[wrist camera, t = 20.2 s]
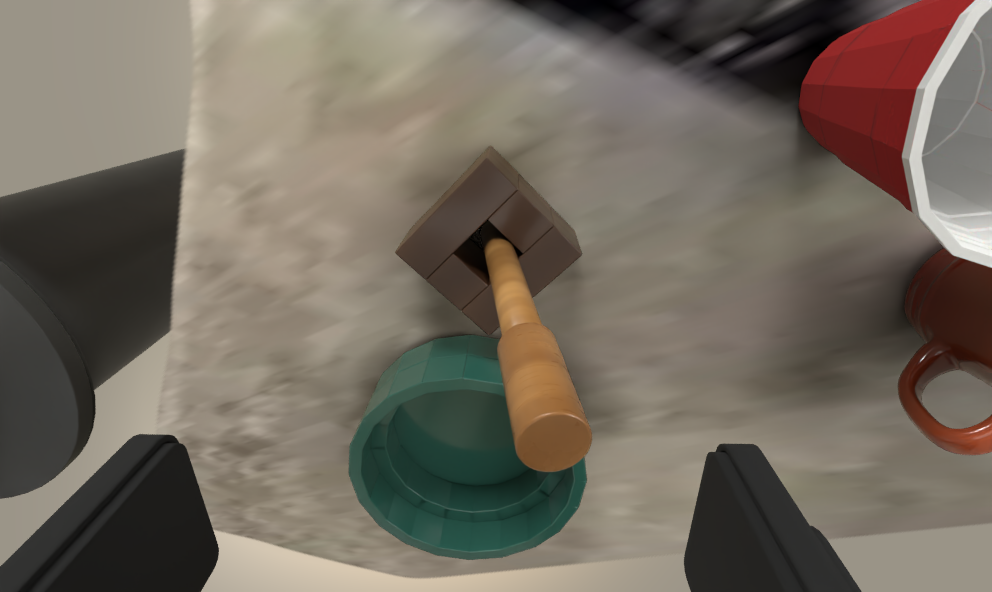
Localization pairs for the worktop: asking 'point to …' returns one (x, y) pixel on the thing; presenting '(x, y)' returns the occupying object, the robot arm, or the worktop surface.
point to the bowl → (454, 458)
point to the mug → (949, 343)
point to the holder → (513, 211)
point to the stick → (532, 369)
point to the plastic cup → (915, 114)
